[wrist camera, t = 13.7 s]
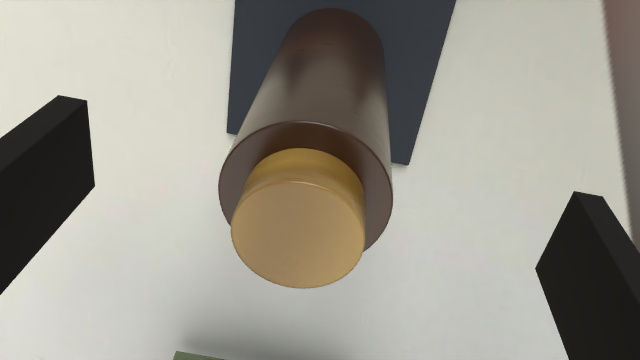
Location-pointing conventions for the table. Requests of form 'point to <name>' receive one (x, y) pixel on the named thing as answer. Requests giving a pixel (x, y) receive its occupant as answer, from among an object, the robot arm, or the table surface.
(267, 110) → the bottle
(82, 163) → the robot arm
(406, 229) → the table surface
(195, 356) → the drawer
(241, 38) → the mat
